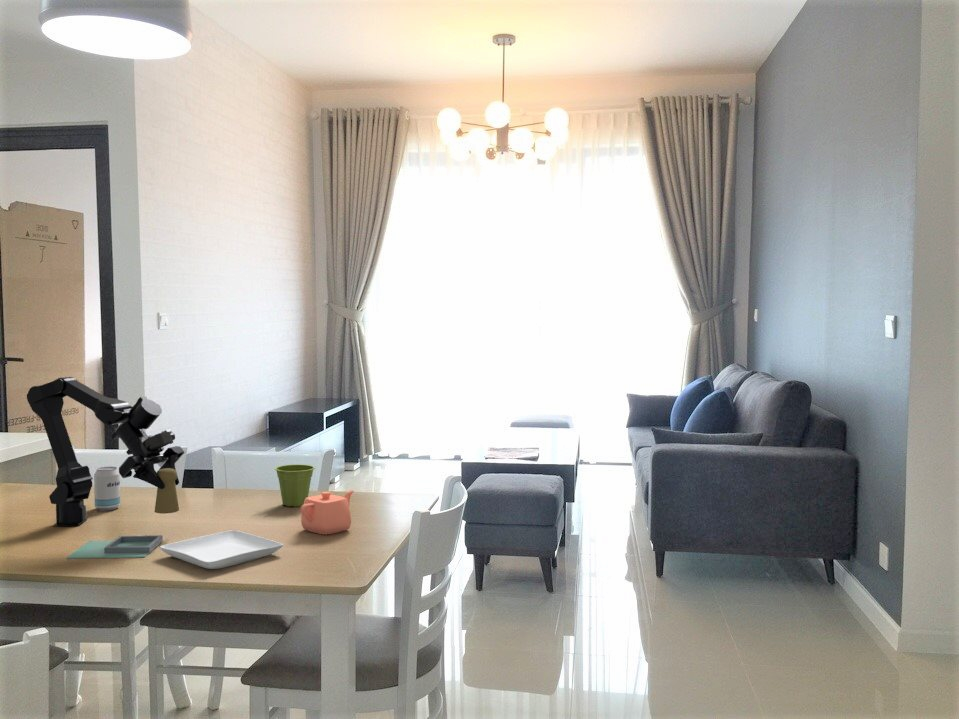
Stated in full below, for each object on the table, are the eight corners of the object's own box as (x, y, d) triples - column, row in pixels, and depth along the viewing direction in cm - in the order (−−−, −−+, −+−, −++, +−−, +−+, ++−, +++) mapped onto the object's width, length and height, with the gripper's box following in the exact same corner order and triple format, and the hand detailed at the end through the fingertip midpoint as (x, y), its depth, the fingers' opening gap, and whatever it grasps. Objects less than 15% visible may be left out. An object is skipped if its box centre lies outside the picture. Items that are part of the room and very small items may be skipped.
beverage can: (107, 512, 247) (106, 471, 247) (89, 510, 250) (88, 469, 249) (125, 507, 254) (124, 467, 253) (107, 505, 256) (106, 465, 256)
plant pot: (321, 505, 257) (321, 468, 257) (283, 510, 251) (283, 472, 250) (305, 498, 267) (305, 462, 266) (269, 503, 260) (268, 466, 260)
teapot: (287, 532, 227) (287, 494, 226) (340, 520, 240) (340, 483, 240) (315, 540, 219) (314, 500, 219) (368, 527, 233) (368, 489, 232)
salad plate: (233, 540, 220) (233, 527, 220) (285, 556, 207) (285, 542, 207) (157, 559, 204) (157, 545, 204) (208, 577, 190) (208, 562, 190)
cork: (171, 514, 219) (170, 471, 218) (149, 512, 220) (149, 470, 219) (183, 508, 225) (183, 467, 224) (162, 507, 226) (162, 466, 225)
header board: (66, 558, 203) (66, 551, 203) (89, 542, 217) (89, 535, 217) (146, 557, 204) (146, 550, 204) (163, 541, 218) (163, 534, 218)
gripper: (127, 425, 214) (163, 472, 210) (178, 416, 231) (212, 460, 228) (103, 454, 217) (138, 501, 214) (155, 443, 234) (188, 486, 231)
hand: (170, 486), depth 222 cm, fingers closed on cork, 5 cm apart
